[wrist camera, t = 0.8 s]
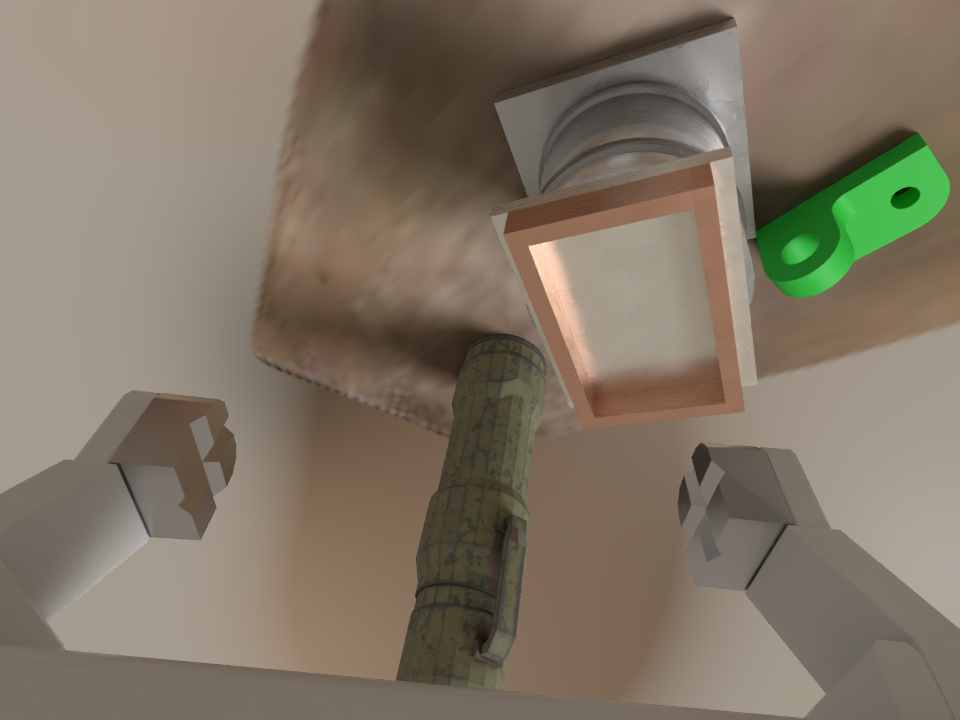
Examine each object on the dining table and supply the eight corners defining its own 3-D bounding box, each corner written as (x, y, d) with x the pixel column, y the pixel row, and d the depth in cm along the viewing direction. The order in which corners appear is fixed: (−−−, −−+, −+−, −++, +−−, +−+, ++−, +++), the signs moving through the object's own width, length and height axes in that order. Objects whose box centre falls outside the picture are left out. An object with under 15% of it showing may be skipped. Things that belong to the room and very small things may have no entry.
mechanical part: (793, 274, 52) (813, 341, 47) (754, 230, 50) (770, 294, 44) (954, 188, 45) (1000, 255, 39) (917, 131, 42) (960, 193, 37)
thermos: (441, 373, 68) (346, 733, 44) (500, 311, 60) (422, 710, 36) (508, 408, 70) (451, 766, 47) (573, 353, 62) (545, 750, 39)
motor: (734, 17, 39) (789, 167, 26) (753, 225, 49) (799, 405, 36) (497, 94, 45) (448, 247, 32) (558, 266, 55) (540, 433, 42)
